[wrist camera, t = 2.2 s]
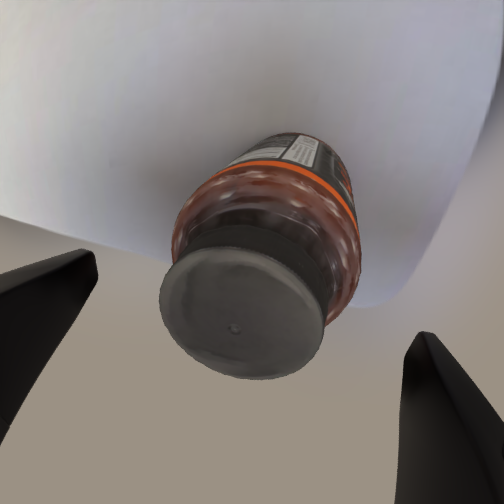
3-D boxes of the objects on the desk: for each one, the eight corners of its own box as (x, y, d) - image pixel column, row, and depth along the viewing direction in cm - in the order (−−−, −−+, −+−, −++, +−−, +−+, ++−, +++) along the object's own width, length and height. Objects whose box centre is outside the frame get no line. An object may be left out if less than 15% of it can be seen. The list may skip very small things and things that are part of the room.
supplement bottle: (355, 230, 17) (364, 407, 7) (253, 239, 19) (171, 395, 9) (342, 123, 14) (365, 189, 5) (230, 139, 16) (87, 226, 7)
